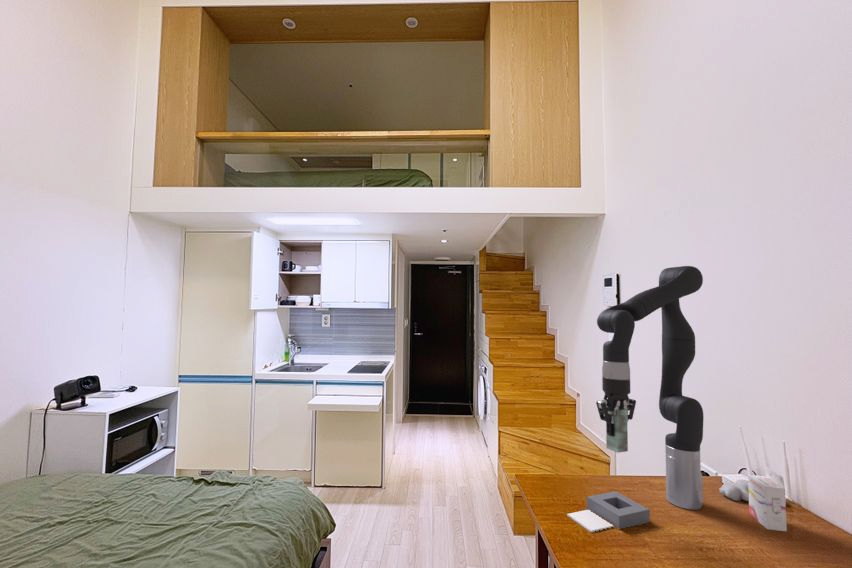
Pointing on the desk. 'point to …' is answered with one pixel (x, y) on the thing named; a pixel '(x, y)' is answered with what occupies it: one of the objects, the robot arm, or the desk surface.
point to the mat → (589, 520)
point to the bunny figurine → (736, 490)
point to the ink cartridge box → (768, 500)
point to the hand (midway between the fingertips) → (616, 434)
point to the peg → (618, 433)
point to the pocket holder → (618, 509)
